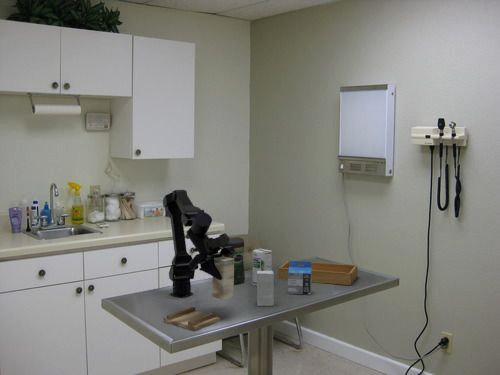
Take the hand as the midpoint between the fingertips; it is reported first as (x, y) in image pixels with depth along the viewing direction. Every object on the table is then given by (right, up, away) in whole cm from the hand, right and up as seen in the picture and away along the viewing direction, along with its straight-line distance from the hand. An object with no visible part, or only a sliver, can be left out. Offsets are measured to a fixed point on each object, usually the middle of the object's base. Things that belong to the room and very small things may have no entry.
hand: (226, 277), depth 194 cm
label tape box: (+27, -11, +31) cm, 42 cm away
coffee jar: (+1, -9, +46) cm, 47 cm away
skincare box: (+13, -12, +16) cm, 24 cm away
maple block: (-1, -7, +1) cm, 7 cm away
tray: (+37, -9, +53) cm, 66 cm away
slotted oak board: (-11, -14, -3) cm, 18 cm away
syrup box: (+13, -10, +42) cm, 45 cm away
